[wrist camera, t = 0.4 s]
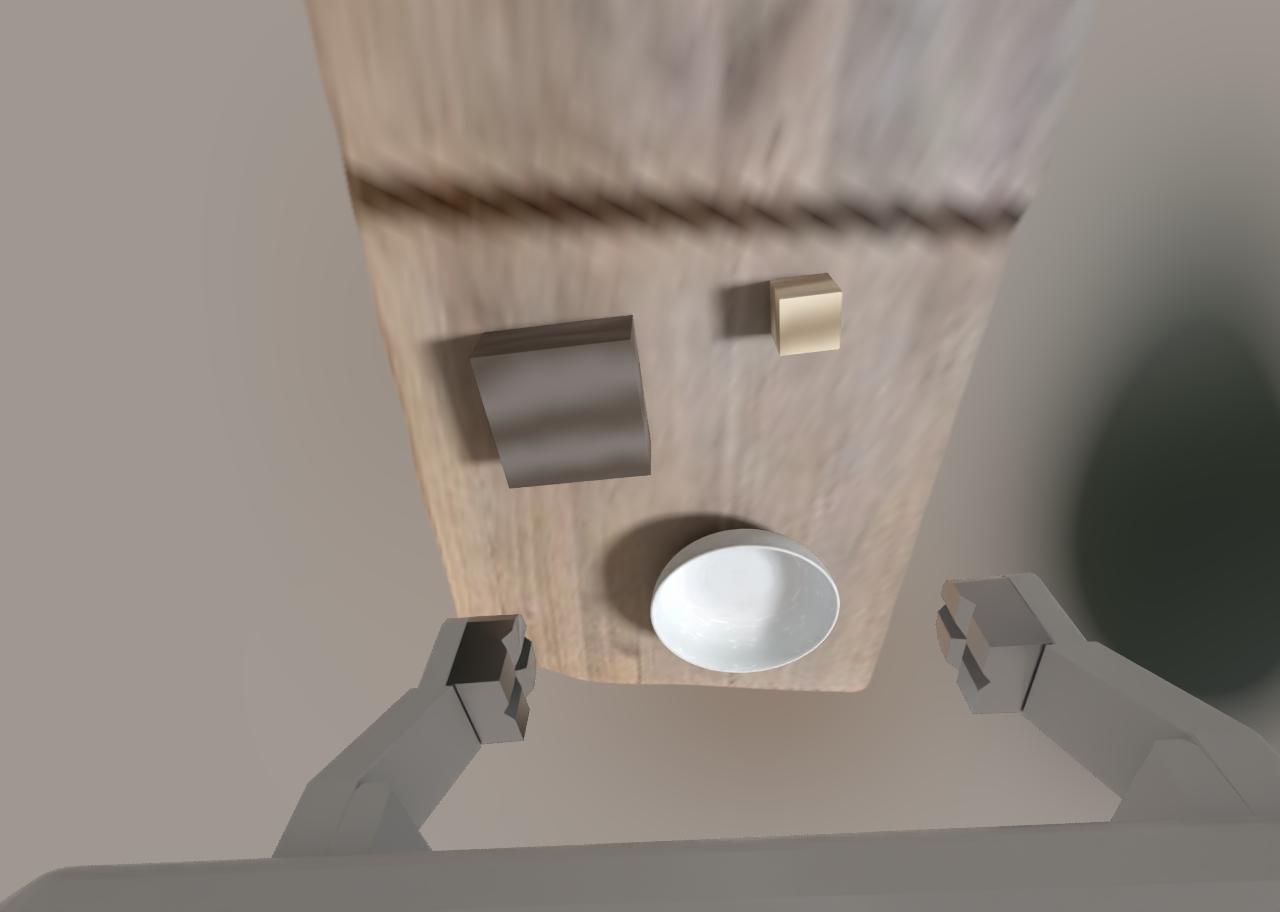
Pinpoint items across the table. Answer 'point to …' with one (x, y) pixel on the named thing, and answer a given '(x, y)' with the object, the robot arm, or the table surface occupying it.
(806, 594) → the serving bowl
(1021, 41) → the table surface
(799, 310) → the birch cube
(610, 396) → the charcoal riser block
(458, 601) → the table surface
